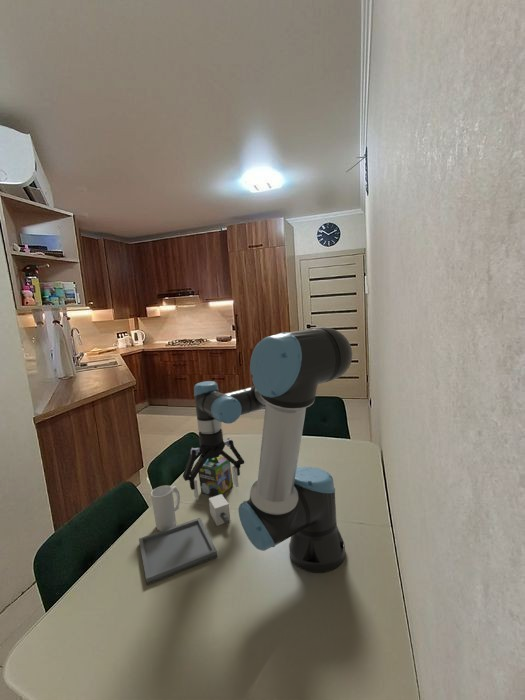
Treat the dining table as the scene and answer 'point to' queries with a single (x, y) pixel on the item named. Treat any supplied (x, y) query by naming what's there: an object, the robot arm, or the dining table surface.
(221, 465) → the chalk box
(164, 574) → the tray
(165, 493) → the mug
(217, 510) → the connector
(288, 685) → the dining table surface
